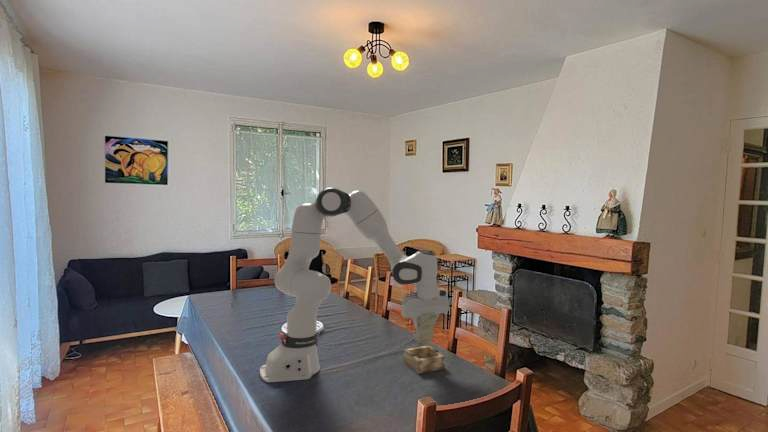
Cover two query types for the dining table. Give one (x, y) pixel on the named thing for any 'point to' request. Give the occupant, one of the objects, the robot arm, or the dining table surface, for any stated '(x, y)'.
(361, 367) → the dining table surface
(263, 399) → the dining table surface
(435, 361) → the socket block
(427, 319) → the skincare box
